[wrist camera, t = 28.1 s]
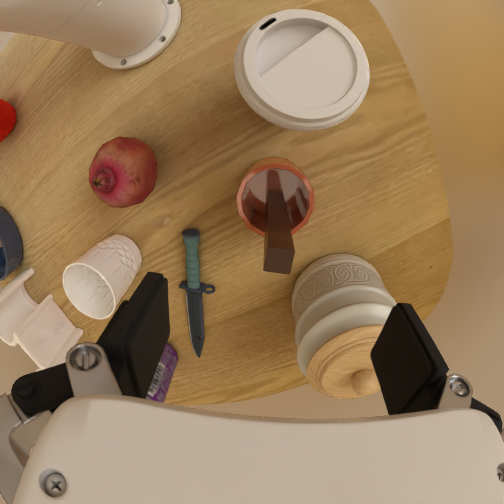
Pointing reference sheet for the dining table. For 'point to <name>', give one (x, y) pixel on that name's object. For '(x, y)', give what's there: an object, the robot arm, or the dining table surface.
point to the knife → (194, 290)
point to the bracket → (35, 324)
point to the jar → (339, 324)
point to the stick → (277, 235)
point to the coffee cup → (301, 70)
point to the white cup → (102, 276)
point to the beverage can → (163, 375)
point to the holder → (274, 179)
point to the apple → (6, 119)
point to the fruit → (123, 172)
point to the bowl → (9, 246)
